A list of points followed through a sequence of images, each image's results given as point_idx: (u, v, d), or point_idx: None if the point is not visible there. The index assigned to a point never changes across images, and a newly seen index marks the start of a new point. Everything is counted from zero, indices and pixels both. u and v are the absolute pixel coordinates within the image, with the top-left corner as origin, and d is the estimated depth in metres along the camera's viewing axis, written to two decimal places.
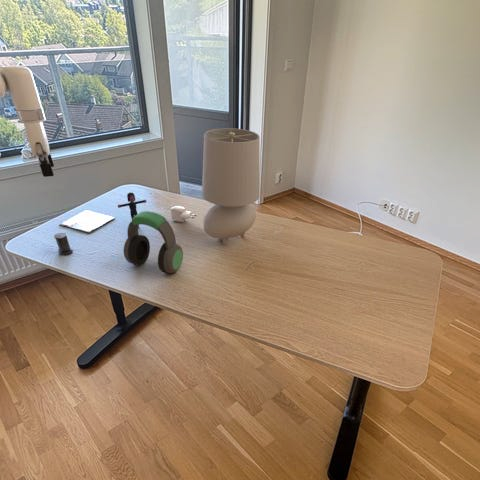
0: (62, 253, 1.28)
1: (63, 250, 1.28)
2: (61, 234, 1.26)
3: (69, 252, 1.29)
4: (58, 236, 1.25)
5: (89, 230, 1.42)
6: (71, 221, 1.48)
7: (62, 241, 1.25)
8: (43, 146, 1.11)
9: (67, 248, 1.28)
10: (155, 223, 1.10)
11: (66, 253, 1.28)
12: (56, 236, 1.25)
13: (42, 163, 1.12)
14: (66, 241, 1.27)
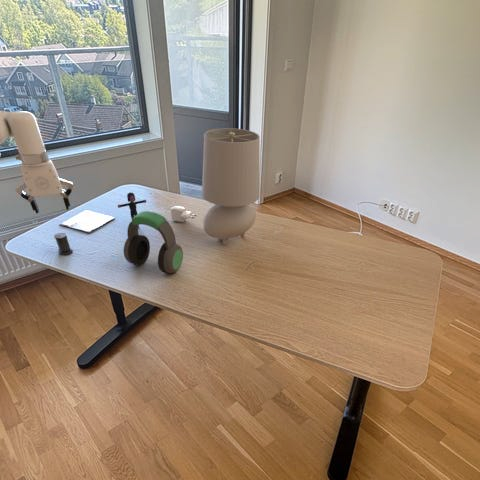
0: (62, 253, 1.28)
1: (63, 250, 1.28)
2: (61, 234, 1.26)
3: (69, 252, 1.29)
4: (58, 236, 1.25)
5: (89, 230, 1.42)
6: (71, 221, 1.48)
7: (62, 241, 1.25)
8: None
9: (67, 248, 1.28)
10: (155, 223, 1.10)
11: (66, 253, 1.28)
12: (56, 236, 1.25)
13: (68, 195, 1.18)
14: (66, 241, 1.27)
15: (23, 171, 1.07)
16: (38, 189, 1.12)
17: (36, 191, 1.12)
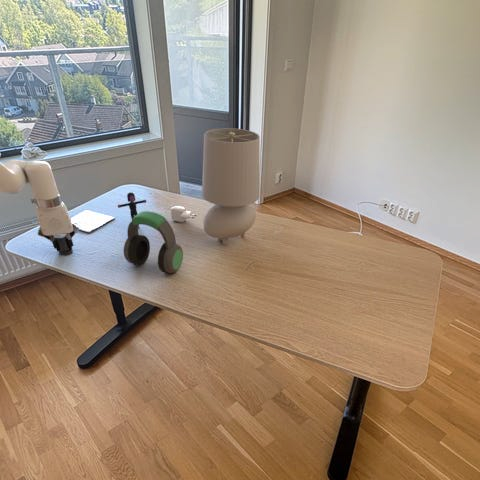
0: (62, 253, 1.28)
1: (63, 250, 1.28)
2: (61, 234, 1.26)
3: (69, 252, 1.29)
4: (58, 236, 1.25)
5: (89, 230, 1.42)
6: None
7: (62, 241, 1.25)
8: None
9: (67, 248, 1.28)
10: (155, 223, 1.10)
11: (66, 253, 1.28)
12: (56, 236, 1.25)
13: None
14: (66, 241, 1.27)
15: (38, 213, 1.16)
16: (51, 229, 1.21)
17: (49, 230, 1.21)
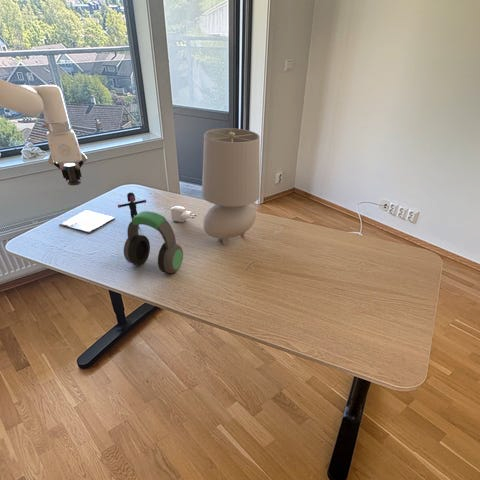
0: (71, 183, 1.34)
1: (72, 180, 1.33)
2: (70, 164, 1.32)
3: (78, 182, 1.35)
4: (67, 165, 1.31)
5: (89, 230, 1.42)
6: (71, 221, 1.48)
7: (71, 170, 1.31)
8: (79, 149, 1.30)
9: (76, 178, 1.34)
10: (155, 223, 1.10)
11: (75, 183, 1.34)
12: (65, 165, 1.31)
13: (80, 166, 1.33)
14: (74, 171, 1.32)
15: (49, 138, 1.22)
16: (61, 155, 1.26)
17: (59, 157, 1.26)
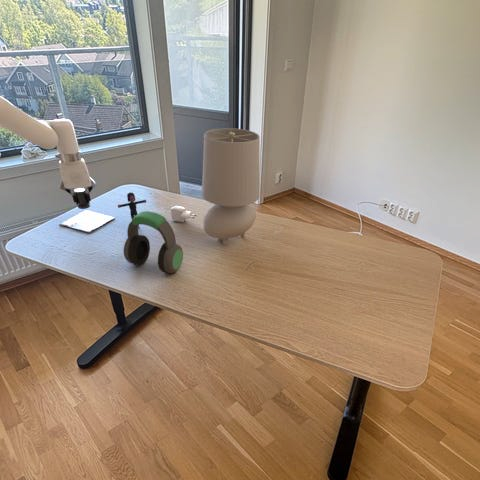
0: (81, 206, 1.43)
1: (82, 204, 1.43)
2: (80, 189, 1.41)
3: (87, 206, 1.44)
4: (78, 190, 1.40)
5: (89, 230, 1.42)
6: (71, 221, 1.48)
7: (81, 195, 1.40)
8: None
9: (85, 202, 1.43)
10: (155, 223, 1.10)
11: (84, 207, 1.43)
12: (76, 190, 1.40)
13: None
14: (84, 195, 1.41)
15: (61, 167, 1.31)
16: (72, 182, 1.35)
17: (70, 184, 1.36)
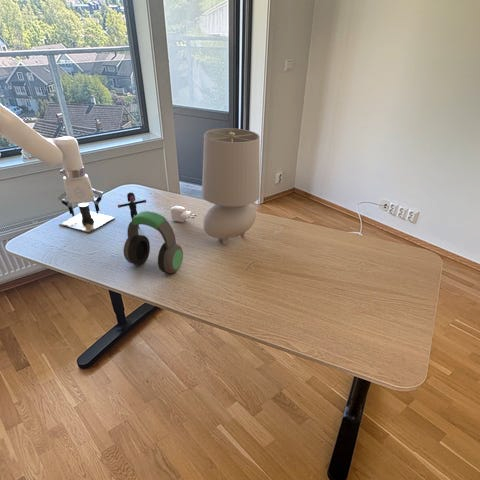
0: (84, 221, 1.47)
1: (85, 218, 1.47)
2: (84, 204, 1.45)
3: (90, 220, 1.48)
4: (81, 205, 1.44)
5: (89, 230, 1.42)
6: (71, 221, 1.48)
7: (85, 209, 1.44)
8: None
9: (89, 216, 1.47)
10: (155, 223, 1.10)
11: (88, 221, 1.47)
12: (80, 205, 1.44)
13: None
14: (88, 210, 1.45)
15: (65, 183, 1.35)
16: (76, 197, 1.39)
17: (74, 199, 1.39)
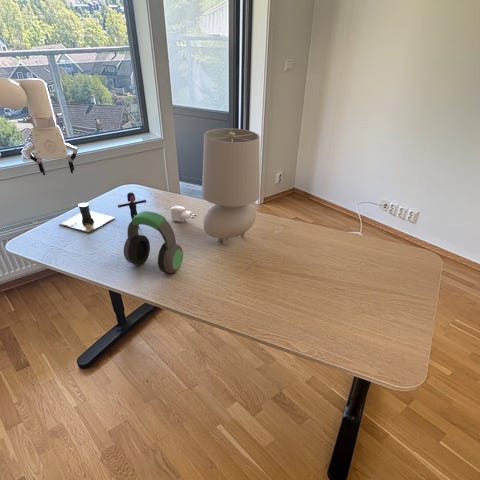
0: (84, 221, 1.47)
1: (85, 218, 1.47)
2: (84, 204, 1.45)
3: (90, 220, 1.48)
4: (81, 205, 1.44)
5: (89, 230, 1.42)
6: (71, 221, 1.48)
7: (85, 209, 1.44)
8: None
9: (89, 216, 1.47)
10: (155, 223, 1.10)
11: (88, 221, 1.47)
12: (80, 205, 1.44)
13: (73, 159, 1.29)
14: (88, 210, 1.45)
15: (33, 134, 1.19)
16: (46, 151, 1.23)
17: (44, 153, 1.23)
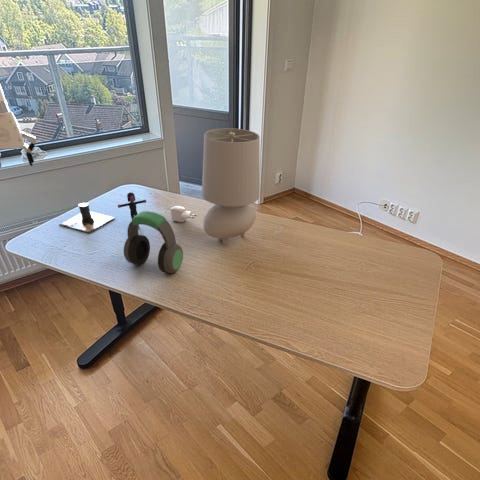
0: (84, 221, 1.47)
1: (85, 218, 1.47)
2: (84, 204, 1.45)
3: (90, 220, 1.48)
4: (81, 205, 1.44)
5: (89, 230, 1.42)
6: (71, 221, 1.48)
7: (85, 209, 1.44)
8: None
9: (89, 216, 1.47)
10: (155, 223, 1.10)
11: (88, 221, 1.47)
12: (80, 205, 1.44)
13: (31, 150, 1.16)
14: (88, 210, 1.45)
15: None
16: None
17: None
